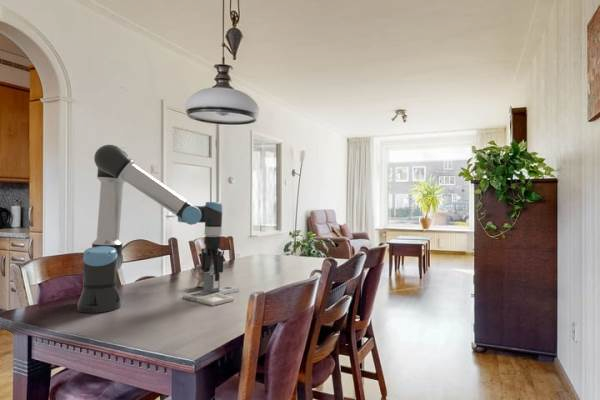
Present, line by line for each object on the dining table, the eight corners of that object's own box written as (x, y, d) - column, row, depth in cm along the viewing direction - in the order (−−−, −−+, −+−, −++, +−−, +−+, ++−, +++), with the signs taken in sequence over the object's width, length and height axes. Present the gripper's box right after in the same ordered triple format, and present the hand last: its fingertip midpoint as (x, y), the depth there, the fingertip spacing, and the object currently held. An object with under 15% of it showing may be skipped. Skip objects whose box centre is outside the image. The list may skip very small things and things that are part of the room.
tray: (212, 305, 162) (213, 301, 162) (196, 301, 169) (196, 297, 169) (233, 300, 171) (233, 297, 171) (216, 296, 178) (216, 293, 178)
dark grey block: (210, 292, 178) (210, 274, 178) (203, 291, 181) (203, 273, 182) (219, 291, 182) (219, 273, 182) (212, 289, 185) (212, 272, 185)
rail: (193, 301, 169) (193, 297, 169) (182, 298, 174) (182, 294, 174) (239, 291, 190) (239, 287, 190) (228, 288, 195) (228, 285, 195)
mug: (217, 284, 203) (217, 263, 203) (213, 288, 194) (213, 266, 194) (193, 284, 203) (193, 263, 204) (188, 288, 194) (188, 266, 194)
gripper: (232, 236, 179) (230, 288, 179) (207, 234, 191) (205, 283, 190) (219, 237, 174) (217, 291, 173) (193, 234, 185) (192, 285, 185)
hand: (211, 286), depth 182 cm, fingers closed on dark grey block, 5 cm apart
